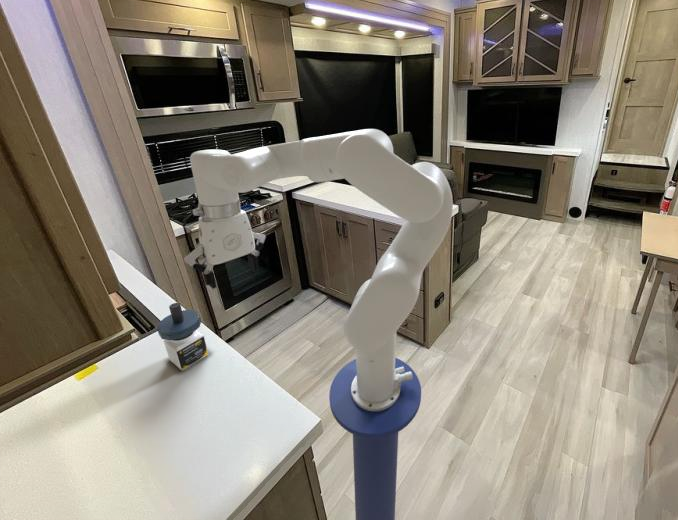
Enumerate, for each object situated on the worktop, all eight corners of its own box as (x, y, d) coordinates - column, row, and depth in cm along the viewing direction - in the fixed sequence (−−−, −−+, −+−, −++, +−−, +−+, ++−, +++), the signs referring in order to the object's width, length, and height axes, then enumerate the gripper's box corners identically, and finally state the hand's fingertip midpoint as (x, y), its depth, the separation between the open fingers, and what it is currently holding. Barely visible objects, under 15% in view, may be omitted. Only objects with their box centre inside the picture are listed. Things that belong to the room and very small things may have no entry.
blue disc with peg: (203, 313, 92) (198, 292, 89) (197, 335, 84) (191, 312, 81) (165, 320, 89) (158, 298, 86) (154, 343, 80) (146, 320, 78)
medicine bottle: (182, 371, 85) (171, 336, 81) (169, 360, 89) (158, 325, 84) (208, 354, 91) (200, 320, 87) (195, 344, 94) (186, 311, 90)
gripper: (181, 224, 59) (200, 300, 66) (268, 203, 72) (276, 269, 78) (168, 214, 64) (186, 286, 70) (251, 196, 76) (260, 259, 83)
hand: (233, 277), depth 74 cm, fingers open, 9 cm apart
